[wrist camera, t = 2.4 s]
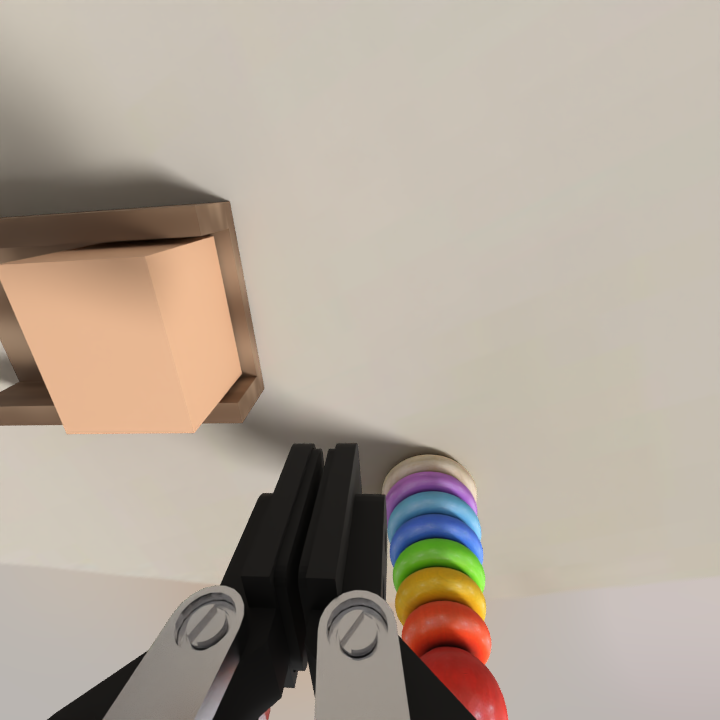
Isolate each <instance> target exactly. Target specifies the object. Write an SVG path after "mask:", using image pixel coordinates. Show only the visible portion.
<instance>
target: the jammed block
mask: <svg viewBox="0 0 720 720" xmlns="http://www.w3.org/2000/svg"><path fill="white" fill-rule="evenodd" d="M0 281H1V283H2V286H3V288H4V290H5V292H6V295H7V297H8V299H9V302H10V304H11V306H12V309H13V311H14V313H15V316H16V318H17V320H18V322H19V325H20V327H21V329H22V332H23V334H24V336H25V339H26V341H27V343H28V345H29V348H30V350H31V352H32V355H33V357H34V359H35V362H36V364H37V366H38V369H39V371H40V373H41V375H42V378H43V380H44V382H45V385H46V387H47V389H48V392H49V394H50V396H51V399H52V401H53V403H54V405H55V408H56V410H57V412H58V415H59V417H60V419H61V422H62V424H63V426H64V428H65V431H66V433H67V434H130V433H195V431H196V430H197V429H198V428H199V426H200V425H201V424H202V423H203V421H204V420H205V419H206V418H207V416H208V415H209V414H210V413H211V412H212V410H213V409H214V408H215V407H216V405H217V404H218V403H219V402H220V400H221V399H222V398H223V397H224V395H225V394H226V393H227V392H228V390H229V389H230V388H231V387H232V385H233V384H234V383H235V382H236V380H237V379H238V378H239V377H240V375H241V374H242V371H241V366H240V362H239V357H238V352H237V347H236V342H235V337H234V333H233V328H232V323H231V318H230V313H229V308H228V304H227V299H226V294H225V289H224V284H223V279H222V275H221V270H220V265H219V260H218V255H217V250H216V246H215V241H214V236H208V237H192V238H176V239H159V240H143V241H127V242H110V243H98V244H94V245H89V246H84V247H79V248H74V249H69V250H65V251H60V252H55V253H50V254H45V255H41V256H36V257H31V258H26V259H21V260H16V261H12V262H7V263H2V264H0Z"/></svg>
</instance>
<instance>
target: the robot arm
mask: <svg viewBox="0 0 720 720" xmlns="http://www.w3.org/2000/svg"><path fill="white" fill-rule="evenodd" d="M386 575H387V510H386V495H385V494H362V488H361V476H360V463H359V451H358V444H357V443H338V444H337V445H336V448H335V449H329V451H328V454H327V458H326V462H325V466H324V459H323V452H322V449H316V447H315V444H293V445H292V447H291V450H290V452H289V455H288V458H287V460H286V463H285V465H284V468H283V470H282V473H281V475H280V478H279V480H278V483H277V485H276V488H275V490H274V493H263V494H261V495H260V497H259V498H258V500H257V502H256V505H255V507H254V509H253V511H252V514H251V516H250V518H249V521H248V523H247V525H246V527H245V530H244V532H243V534H242V537H241V539H240V541H239V543H238V546H237V548H236V550H235V552H234V555H233V557H232V559H231V562H230V564H229V566H228V568H227V571H226V573H225V575H224V578H223V580H222V582H221V584H220V586H211V587H207V588H203V589H202V590H200V591H198V592H196V593H194V594H192V595H191V596H189V597H188V598H187V599H186V600H184V602H182V603H181V604H180V606H179V607H178V608H177V609H176V610H175V611H174V613H173V614H172V615H171V617H170V618H169V620H168V622H167V623H166V624H165V626H164V628H163V629H162V631H161V632H160V634H159V635H158V637H157V638H156V640H155V641H154V643H153V644H152V646H151V647H150V649H149V650H148V651H147V652H145V653H144V654H142V655H141V656H139V657H138V658H136V659H135V660H133V661H132V662H130V663H129V664H127V665H126V666H124V667H123V668H121V669H120V670H119V671H117V672H116V673H114V674H113V675H111V676H110V677H108V678H107V679H105V680H104V681H102V682H101V683H99V684H98V685H96V686H95V687H93V688H92V689H90V690H89V691H88V692H86V693H85V694H83V695H82V696H80V697H79V698H77V699H76V700H74V701H73V702H71V703H70V704H68V705H67V706H65V707H64V708H62V709H61V710H60V711H58V712H56V713H55V714H54V715H53V716H51V717H50V718H49V719H47V720H268V718H269V713H270V707H271V706H272V705H274V704H275V703H276V702H277V701H278V700H279V699H280V698H281V697H282V693H283V688H284V687H287V688H295V683H296V678H297V672H298V671H305V670H306V667H307V663H308V664H309V669H310V674H311V679H312V685H313V690H314V695H315V720H477V719H476V718H475V717H474V716H473V715H472V714H471V713H470V712H469V711H468V710H467V709H466V707H465V706H464V705H463V704H462V703H461V702H460V701H459V700H458V699H457V698H456V697H455V696H454V695H453V693H452V692H451V691H450V690H449V689H448V688H447V687H446V686H445V685H444V684H443V683H442V682H441V681H440V680H439V678H438V677H437V676H436V675H435V674H434V673H433V672H432V671H431V670H430V669H429V668H428V667H427V666H426V664H425V663H424V662H423V661H422V660H421V659H420V658H419V657H418V656H417V655H416V654H415V653H414V652H413V651H412V649H411V648H410V647H409V646H408V645H407V644H406V643H405V642H404V641H403V640H402V639H401V638H400V637H399V636H398V631H397V624H396V620H395V617H394V613H393V611H392V609H391V608H390V606H389V605H388V603H387V602H386Z"/></svg>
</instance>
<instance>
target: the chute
mask: <svg viewBox="0 0 720 720" xmlns="http://www.w3.org/2000/svg"><path fill="white" fill-rule="evenodd" d="M208 236H214V241H215V246H216V250H217V255H218V260H219V265H220V270H221V275H222V279H223V284H224V289H225V294H226V299H227V304H228V308H229V313H230V318H231V323H232V328H233V333H234V337H235V342H236V347H237V352H238V357H239V362H240V366H241V371H242V374H241V375H240V377H239V378H238V379H237V380H236V382H235V383H234V384H233V385H232V387H231V388H230V389H229V390H228V392H227V393H226V394H225V395H224V397H223V398H222V399H221V400H220V402H219V403H218V404H217V405H216V407H215V408H214V409H213V410H212V412H211V413H210V414H209V415H208V416H207V418H206V419H205V420H204V421H203V423H243V421H244V420H245V418H246V417H247V415H248V413H249V412H250V410H251V409H252V407H253V406H254V404H255V402H256V401H257V399H258V398H259V396H260V395H261V393H262V392H263V390H264V384H263V379H262V373H261V368H260V362H259V357H258V352H257V346H256V341H255V335H254V330H253V325H252V319H251V314H250V308H249V303H248V297H247V292H246V287H245V281H244V276H243V270H242V265H241V260H240V254H239V249H238V243H237V238H236V232H235V227H234V222H233V216H232V211H231V205H230V201H228V202H214V203H200V204H186V205H172V206H157V207H143V208H129V209H115V210H101V211H86V212H72V213H58V214H44V215H29V216H15V217H1V218H0V264H2V263H7V262H12V261H16V260H21V259H26V258H31V257H36V256H41V255H45V254H50V253H55V252H60V251H65V250H69V249H74V248H79V247H84V246H89V245H94V244H98V243H110V242H127V241H143V240H159V239H176V238H192V237H208ZM0 340H1V342H2V345H3V347H4V349H5V351H6V353H7V355H8V358H9V360H10V362H11V364H12V366H13V368H14V371H15V373H16V375H17V377H18V379H19V381H20V382H18V383H16V384H15V385H13V386H11V387H9V388H7V389H5V390H3V391H1V392H0V426H5V425H63V424H62V422H61V419H60V417H59V415H58V412H57V410H56V408H55V405H54V403H53V401H52V399H51V396H50V394H49V392H48V389H47V387H46V385H45V382H44V380H43V378H42V375H41V373H40V371H39V369H38V366H37V364H36V362H35V359H34V357H33V355H32V352H31V350H30V348H29V345H28V343H27V341H26V339H25V336H24V334H23V332H22V329H21V327H20V325H19V322H18V320H17V318H16V316H15V313H14V311H13V309H12V306H11V304H10V302H9V299H8V297H7V295H6V292H5V290H4V288H3V286H2V283H1V281H0Z"/></svg>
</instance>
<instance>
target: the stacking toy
mask: <svg viewBox="0 0 720 720" xmlns="http://www.w3.org/2000/svg"><path fill="white" fill-rule="evenodd" d="M382 494H385V495H386V510H387V529H388V530H387V531H388V538H389V542H390V544H391V545H390V558H391V562H392V565H393V567H394V569H393V582H394V586H395V589H396V591H397V594H396V599H395V608H396V613H397V616H398V618H399V620H400V622H401V623H402V625H403V630H402V640H403V641H404V642H405V643H406V644H407V645H408V646H409V647H410V648H411V649H412V651H413V652H414V653H415V654H416V655H417V656H418V657H419V658H420V659H421V660H422V661H423V662H424V663H425V664H426V666H427V667H428V668H429V669H430V670H431V671H432V672H433V673H434V674H435V675H436V676H437V677H438V678H439V680H440V681H441V682H442V683H443V684H444V685H445V686H446V687H447V688H448V689H449V690H450V691H451V692H452V693H453V695H454V696H455V697H456V698H457V699H458V700H459V701H460V702H461V703H462V704H463V705H464V706H465V707H466V709H467V710H468V711H469V712H470V713H471V714H472V715H473V716H474V717H475V718H476V719H477V720H508V715H507V709H506V705H505V701H504V698H503V695H502V693H501V690H500V688H499V685H498V683H497V681H496V680H495V678H494V676H493V675H492V673H491V672H490V671H489V669H488V668H487V667H486V666H485V664H486V662H487V660H488V658H489V655H490V651H491V638H490V633H489V631H488V628H487V626H486V624H485V622H484V619H485V615H486V602H485V598H484V595H483V590H484V587H485V574H484V570H483V567H482V562H483V548H482V545H481V542H480V540H481V527H480V523H479V520H478V517H477V506H476V502H477V489H476V485H475V482H474V480H473V478H472V476H471V475H470V473H469V472H468V471H467V470H466V469H465V468H464V467H463V466H462V465H461V464H459V463H458V462H456V461H454V460H452V459H450V458H447V457H444V456H440V455H430V454H428V455H418V456H414V457H411V458H408V459H406V460H404V461H402V462H400V463H399V464H397V465H396V466H395V467H394V468H393V469H391V471H390V472H389V473H388V475H387V476H386V478H385V480H384V483H383V487H382Z"/></svg>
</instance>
